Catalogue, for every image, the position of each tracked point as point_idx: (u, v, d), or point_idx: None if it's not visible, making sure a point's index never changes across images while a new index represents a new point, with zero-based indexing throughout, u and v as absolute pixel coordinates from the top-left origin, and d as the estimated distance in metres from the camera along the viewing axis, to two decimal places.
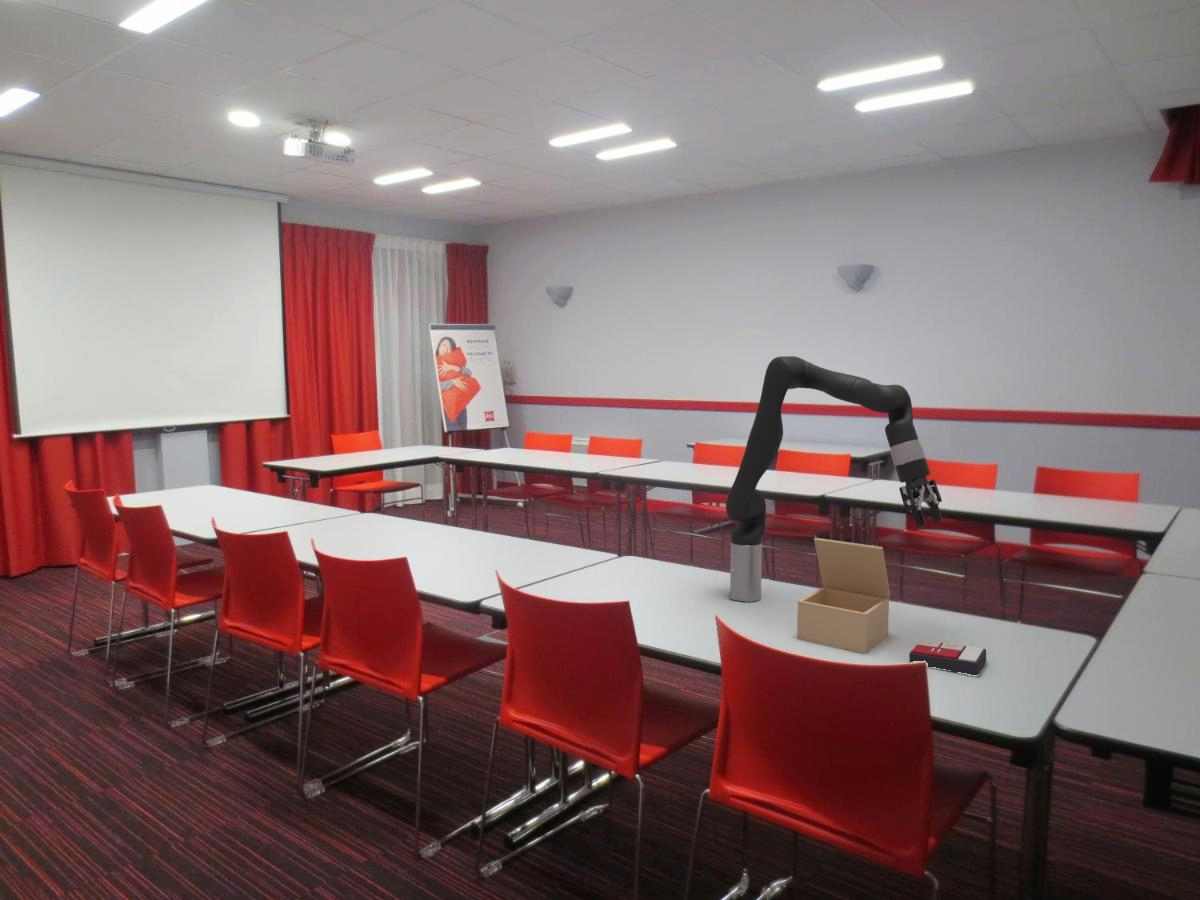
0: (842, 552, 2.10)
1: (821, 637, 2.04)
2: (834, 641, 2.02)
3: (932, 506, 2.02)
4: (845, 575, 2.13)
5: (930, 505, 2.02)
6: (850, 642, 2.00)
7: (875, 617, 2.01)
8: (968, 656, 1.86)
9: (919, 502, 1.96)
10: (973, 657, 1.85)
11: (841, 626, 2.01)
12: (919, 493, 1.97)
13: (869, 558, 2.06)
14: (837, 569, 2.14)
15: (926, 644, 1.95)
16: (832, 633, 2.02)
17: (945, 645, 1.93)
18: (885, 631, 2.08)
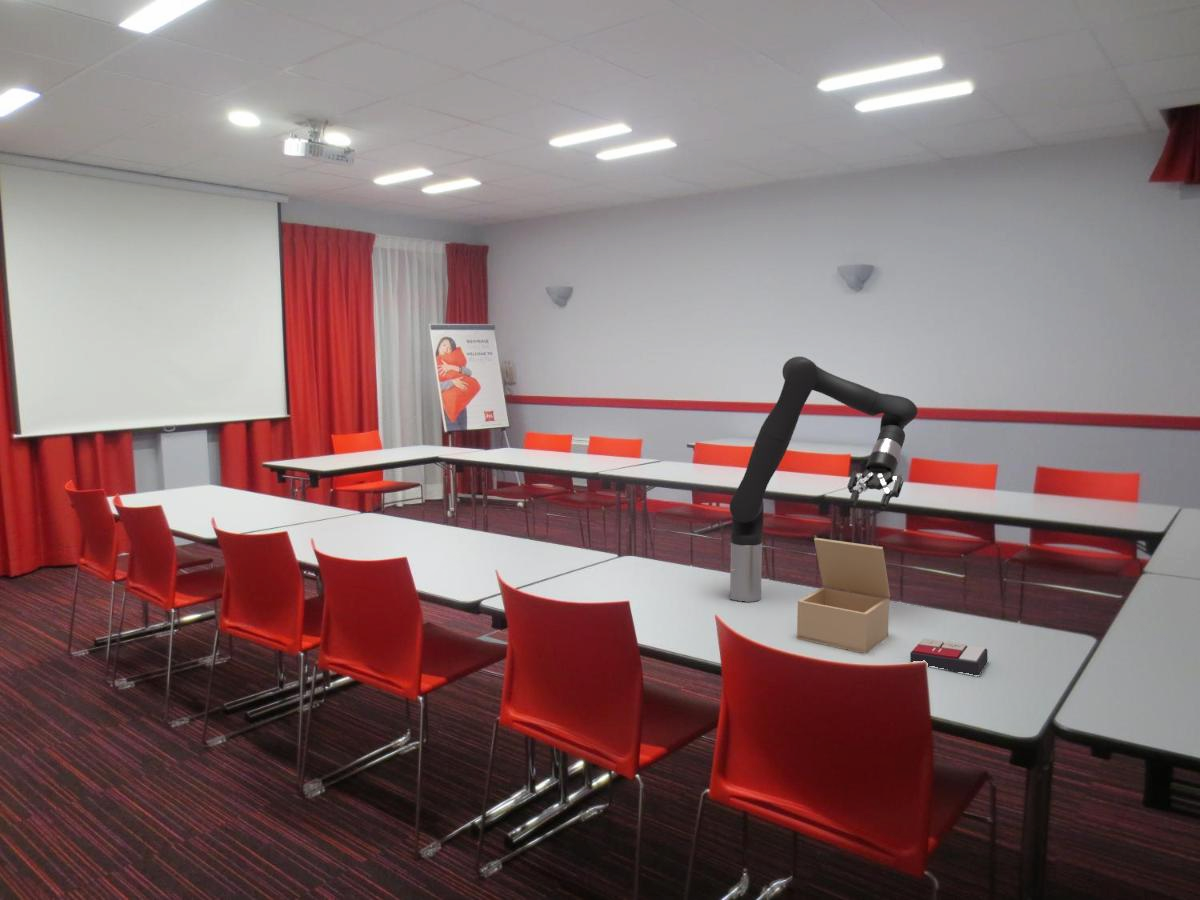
0: (842, 552, 2.10)
1: (821, 637, 2.04)
2: (834, 641, 2.02)
3: (857, 492, 2.22)
4: (845, 575, 2.13)
5: (857, 490, 2.22)
6: (850, 642, 2.00)
7: (875, 617, 2.01)
8: (969, 656, 1.86)
9: None
10: (974, 657, 1.85)
11: (841, 626, 2.01)
12: None
13: (869, 558, 2.06)
14: (837, 569, 2.14)
15: (927, 644, 1.95)
16: (832, 633, 2.02)
17: (946, 645, 1.94)
18: (885, 631, 2.08)
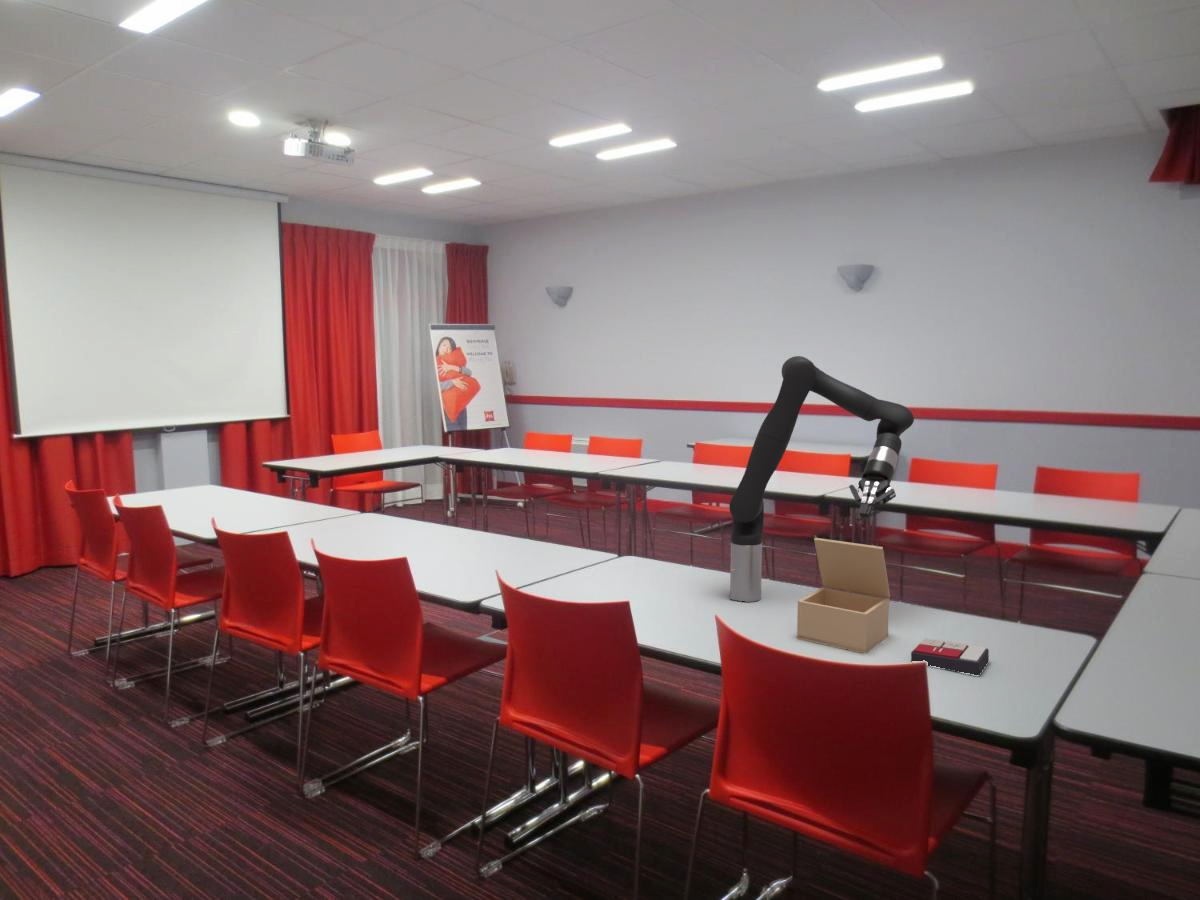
0: (842, 552, 2.10)
1: (821, 637, 2.04)
2: (834, 641, 2.02)
3: None
4: (845, 575, 2.13)
5: (866, 502, 2.17)
6: (850, 642, 2.00)
7: (875, 617, 2.01)
8: (970, 656, 1.86)
9: None
10: (975, 657, 1.85)
11: (841, 626, 2.01)
12: (878, 496, 2.19)
13: (869, 558, 2.06)
14: (837, 569, 2.14)
15: (928, 643, 1.95)
16: (832, 633, 2.02)
17: (947, 645, 1.94)
18: (885, 631, 2.08)
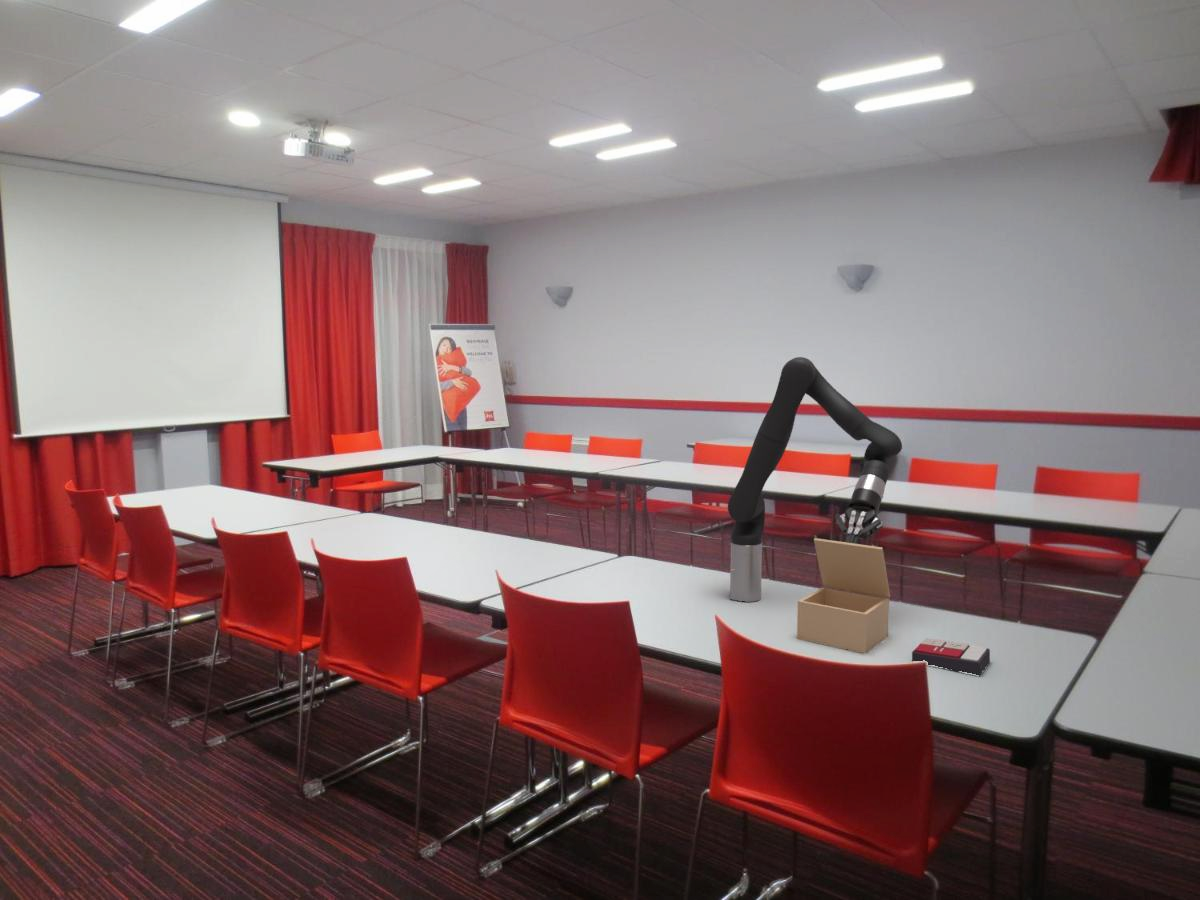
0: (842, 552, 2.10)
1: (821, 637, 2.04)
2: (834, 641, 2.02)
3: None
4: (845, 575, 2.13)
5: (852, 533, 2.11)
6: (850, 642, 2.00)
7: (875, 617, 2.01)
8: (970, 655, 1.86)
9: None
10: (975, 656, 1.85)
11: (841, 626, 2.01)
12: (865, 526, 2.13)
13: (869, 559, 2.06)
14: (837, 569, 2.14)
15: (929, 643, 1.95)
16: (832, 633, 2.02)
17: (948, 644, 1.94)
18: (885, 631, 2.08)
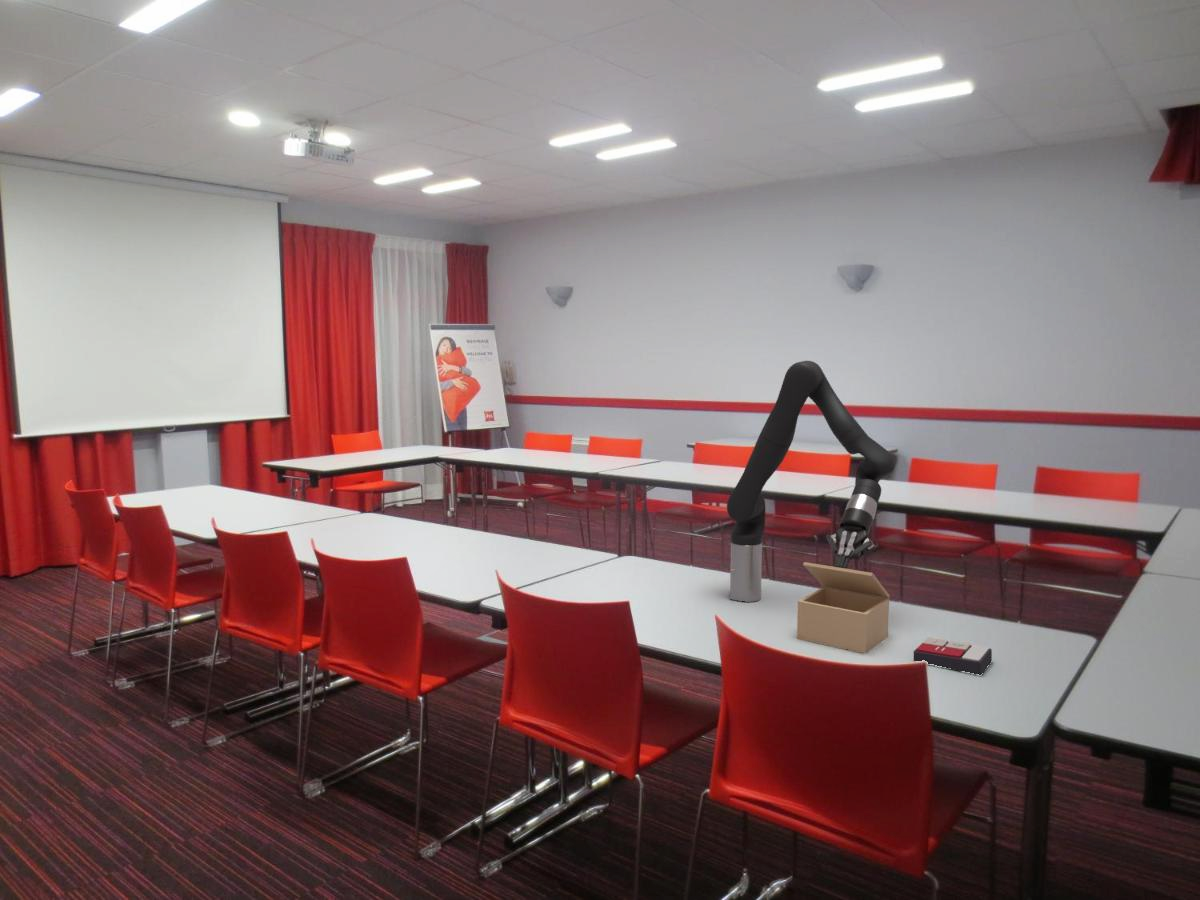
0: (834, 573, 2.06)
1: (821, 637, 2.04)
2: (834, 641, 2.02)
3: None
4: (842, 584, 2.12)
5: (843, 554, 2.07)
6: (850, 642, 2.00)
7: (875, 617, 2.01)
8: (972, 655, 1.86)
9: None
10: (977, 656, 1.86)
11: (841, 626, 2.01)
12: (856, 547, 2.08)
13: (862, 579, 2.02)
14: (832, 580, 2.12)
15: (931, 643, 1.96)
16: (832, 633, 2.02)
17: (950, 644, 1.94)
18: (885, 631, 2.08)
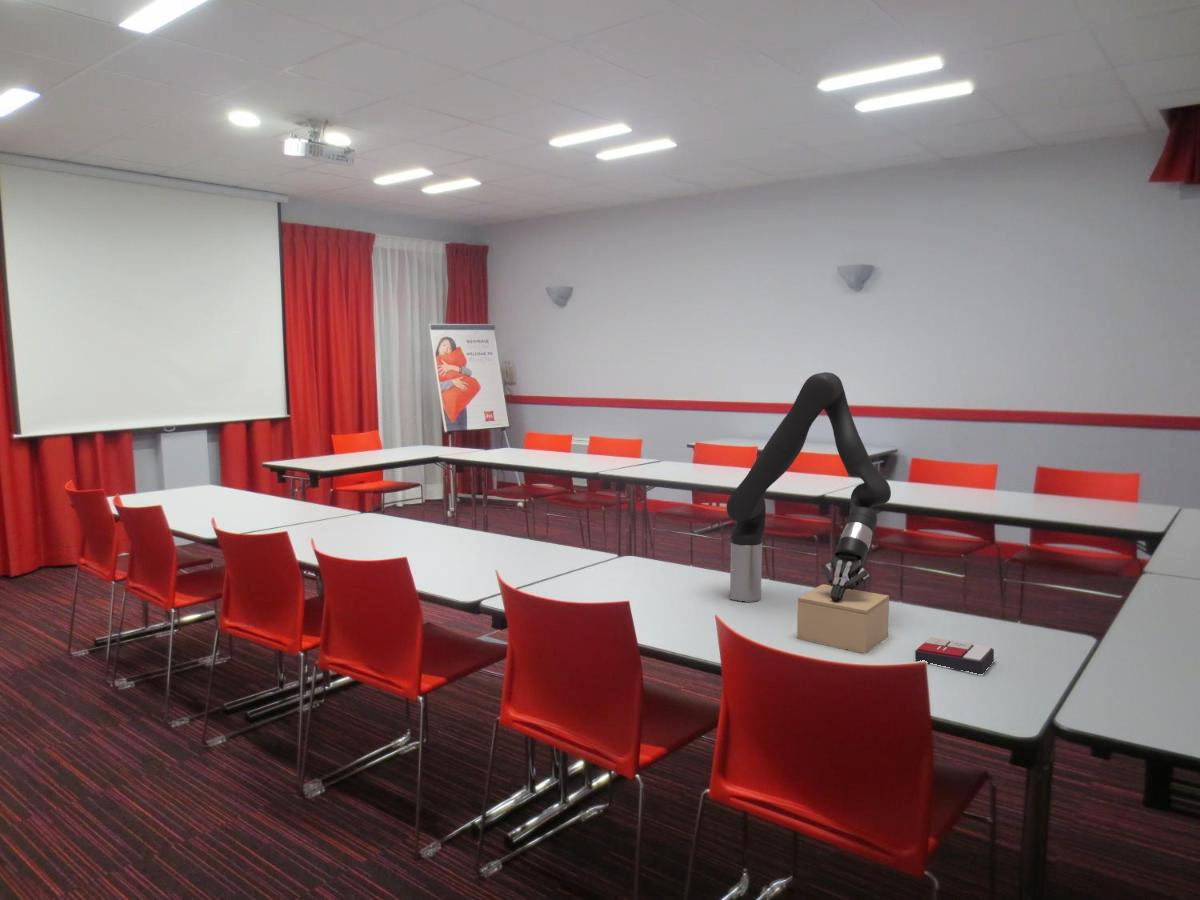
0: None
1: (821, 637, 2.04)
2: (834, 641, 2.02)
3: None
4: None
5: (838, 584, 2.05)
6: (850, 642, 2.00)
7: (875, 617, 2.01)
8: (973, 655, 1.87)
9: None
10: (978, 656, 1.86)
11: (841, 626, 2.01)
12: None
13: None
14: None
15: (933, 642, 1.96)
16: (832, 633, 2.02)
17: (952, 644, 1.94)
18: (885, 631, 2.08)
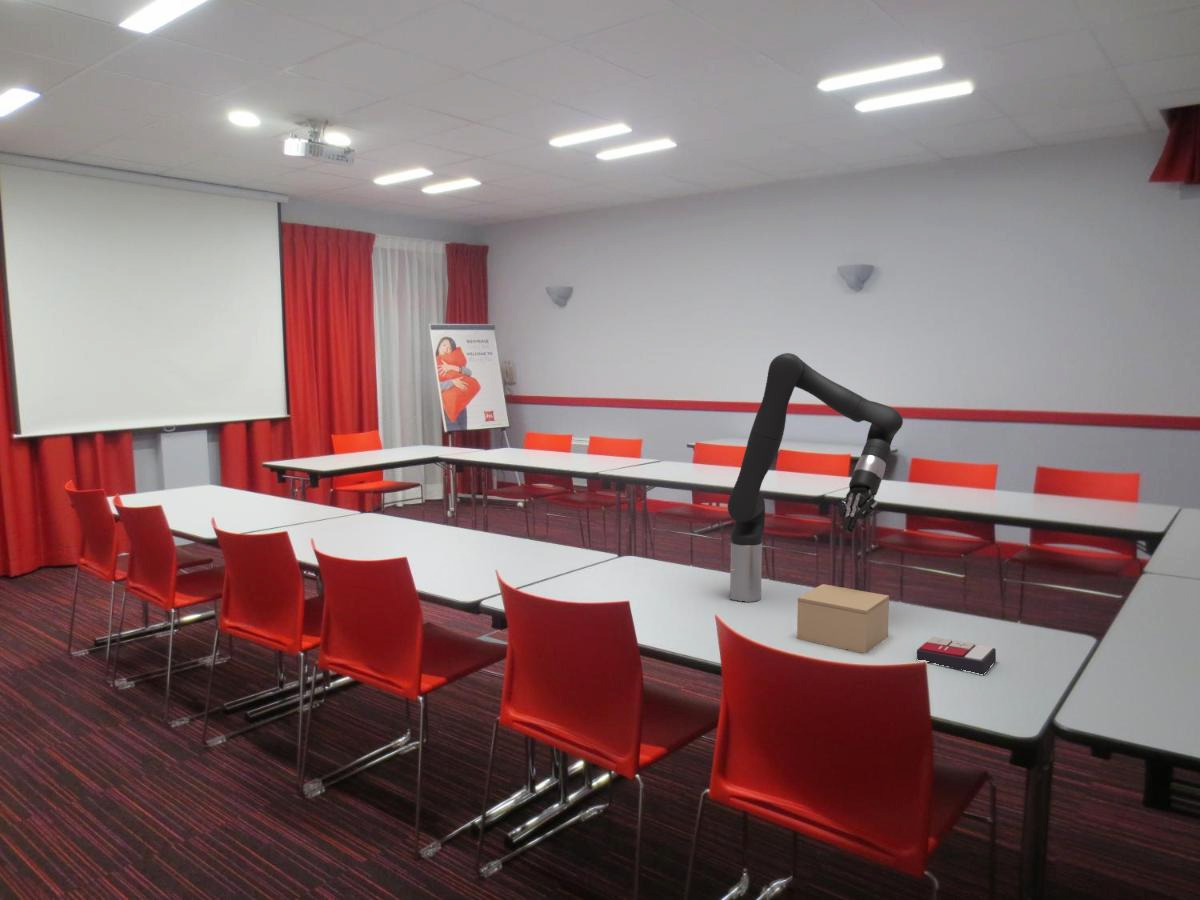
0: None
1: (821, 637, 2.04)
2: (834, 641, 2.02)
3: None
4: None
5: (850, 516, 2.14)
6: (850, 642, 2.00)
7: (875, 617, 2.01)
8: (975, 655, 1.87)
9: None
10: (980, 656, 1.86)
11: (841, 626, 2.01)
12: None
13: None
14: None
15: (935, 642, 1.96)
16: (832, 633, 2.02)
17: (954, 643, 1.94)
18: (885, 631, 2.08)
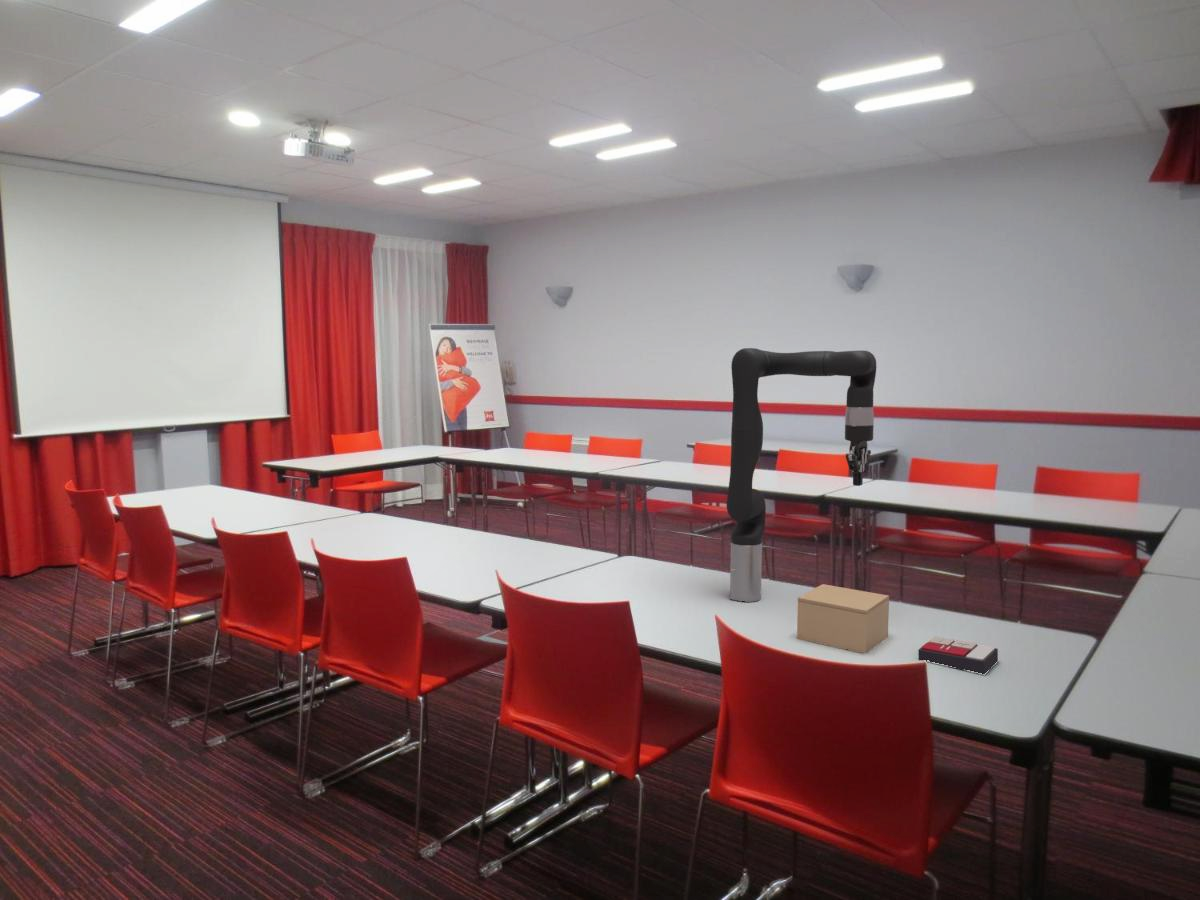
0: None
1: (821, 637, 2.04)
2: (834, 641, 2.02)
3: None
4: None
5: None
6: (850, 642, 2.00)
7: (875, 617, 2.01)
8: (976, 654, 1.87)
9: (861, 465, 2.22)
10: (981, 655, 1.86)
11: (841, 626, 2.01)
12: (860, 457, 2.21)
13: None
14: None
15: (937, 641, 1.96)
16: (832, 633, 2.02)
17: (956, 643, 1.95)
18: (885, 631, 2.08)
